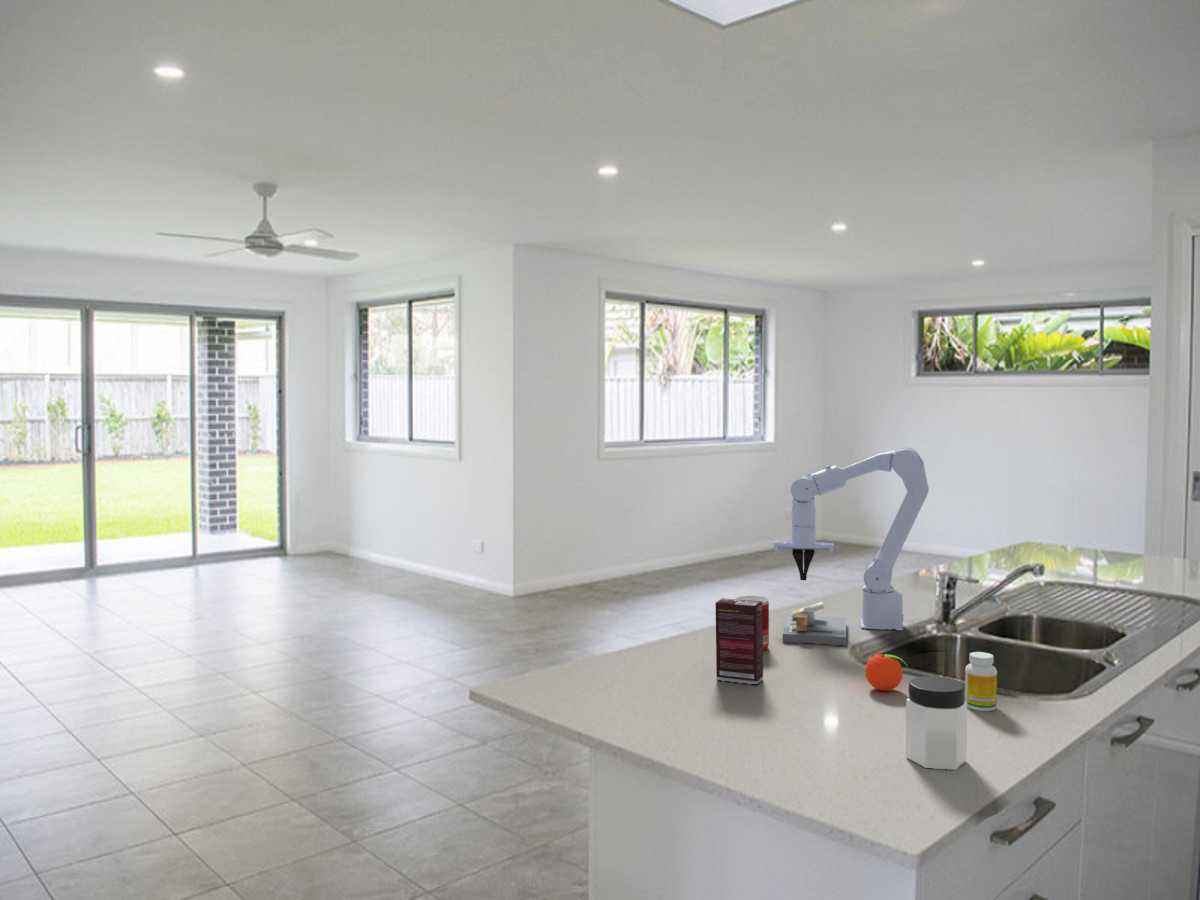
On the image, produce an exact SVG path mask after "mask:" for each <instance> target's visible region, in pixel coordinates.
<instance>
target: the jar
mask: <svg viewBox="0 0 1200 900" xmlns="http://www.w3.org/2000/svg"><path fill="white" fill-rule="evenodd" d="M905 705H906V706H905V708H906V709H905V758H906V757H907V758H906V759H908V760H910V761H912V762H913V761H914V763H915V762H916V763H915V764H917V763H918V764H917V765H918V766H920V765H921V767H922V766H923V768H924V769H927V768H932V769H931V770H945V769H947V771H957V770H958V769H959V768H961V766H962V765H963V764H965V762H967V758H968V757H967V751H968V748H967V747H968V743H967V741H968V707H967V702H966V701H965V684H963V683H962V682H960V681H958V680H956V679H952V678H949V677H944V676H936V675H922V676H916V677H912V678H911V679H910V680H909V681H908V698H906V700H905ZM933 768H934V769H933Z"/></svg>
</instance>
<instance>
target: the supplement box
mask: <svg viewBox="0 0 1200 900" xmlns="http://www.w3.org/2000/svg"><path fill="white" fill-rule="evenodd" d="M714 605H715V655H716V658H715V659H716V681H717V680H721V681H720V682H725V681H731V682H730V683H733V682H740V683H739V684H742V683H747V684H746V685H751V684H758V683H759V682H760V681H761V680H762V681H763V679H764V651H763V620H762V601H750V600H738V599H735V598H725V597H722V598H720V599H718V600H717V601H716V602H715V604H714ZM762 681H761V682H762ZM761 682H760V683H761ZM760 683H759V684H760ZM759 684H758V685H759Z"/></svg>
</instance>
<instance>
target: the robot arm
mask: <svg viewBox="0 0 1200 900" xmlns="http://www.w3.org/2000/svg"><path fill="white" fill-rule="evenodd" d="M892 469H893V471H894V473H896V474H897V475H898V477H900V479H901V480H902V482H903V484H904V486H905V489H906V493H905V495H904V497H903V499H902V502H901V503H900V505H899V508H898V510H897V513H896V514H895V516H894V519H893V521H892V523H891V525H890V527H889V529H888V531H887V533H886V535H885V537H884V538H883V539H884V540H883V542H882V544H881V546H880V547H879V550H878V551H877V553H876V555H875V557H874V559H873V560H871V561H870V562H868V564H867V565H866V568H865V571H864V574H863V583H864V585H863V586H862V618H860V628H861V629H866V630H867V629H870V630H885V629H902V630H903V622H904V614H903V592H902V590H895V589H894V586H892V584H891V583H892V576H893V569H894V568H895V567H894V566H895V564H896V562H897V559H898V557H899V555H900V553H901V551H902V548H903V546H904V544H905V542H906V541H907V538H908V536H909V534H910V533H911V530H912V528H913V525H914V524H915V521H916V520H917V517H918V515H919V513H920V511H921V510H922V507H923V505H924V502H925V501H926V498H927V496H928V494H929V488H930V487H929V482H928V478H927V473H926V468H925V464H924V461H923V459H922V458H921V456H920V454H919V453H918V451H916V450H915V449H914V448H912V447H902V448H900V449H898V450H897V451H896V450H895V449H894V450H889V451H885V452H881V453H879V454H878V453H877V454H875V455H873V456H870V457H867V458H865V459H863V460H861V461H860V460H859V461H858V462H856V463H853V464H851V465H848V466H846V467H841V466H839V465H833V466H831V464H828V465H826V466H825V467H824V469H822V470H819V471H816V472H814V473H812V472H809V473H807V474H806V476H803V477H799V478H798V479H796V480H795V481H793V483H792V484H791V487H790V494H791V497H792V501H791V503H792V504H791V505H792V507H791V541H773V551H792V554H791V555H792V557H793V559H794V561H795V563H796V566H797V569H798V573H799V578H800V579H799V580H800V581H807V578H808V577H807V576H808V571H809V569H810V565H811V562H812V560H813V558H814V556H815V552H825V553H827V552H828V553H834V549H835V547H834V545H835V544H834V543H833V542H832V543H830V542H820V541H819V542H817V541H816V506H815V505H816V504H815V496H822V495H826V494H828V493H833V492H834V491H836V490H839V489H842V488H845V485H846V483H847V481H849V480H852V479H854V478H857V477H860V476H863V475H867V474H870V473H874V472H876V471H883V472H887V473H888V472H889V473H890V472H891V471H892Z"/></svg>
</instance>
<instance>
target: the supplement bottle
mask: <svg viewBox="0 0 1200 900" xmlns="http://www.w3.org/2000/svg"><path fill="white" fill-rule="evenodd" d="M968 657H969V658H968V659H969V663H968V664H967V665H965V668H964V686H965V701H966V702H967V709H970V710H974V711H978V712H992V711H994V710H996V708H997V702H998V698H997V697H998V670H997V668H996V667H995V666H994V665H993V664H994V661H995V660H994V659H995V658H994V655H993V654H991V653H989V652H983V651H974V652H970V653H969V656H968Z"/></svg>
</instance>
